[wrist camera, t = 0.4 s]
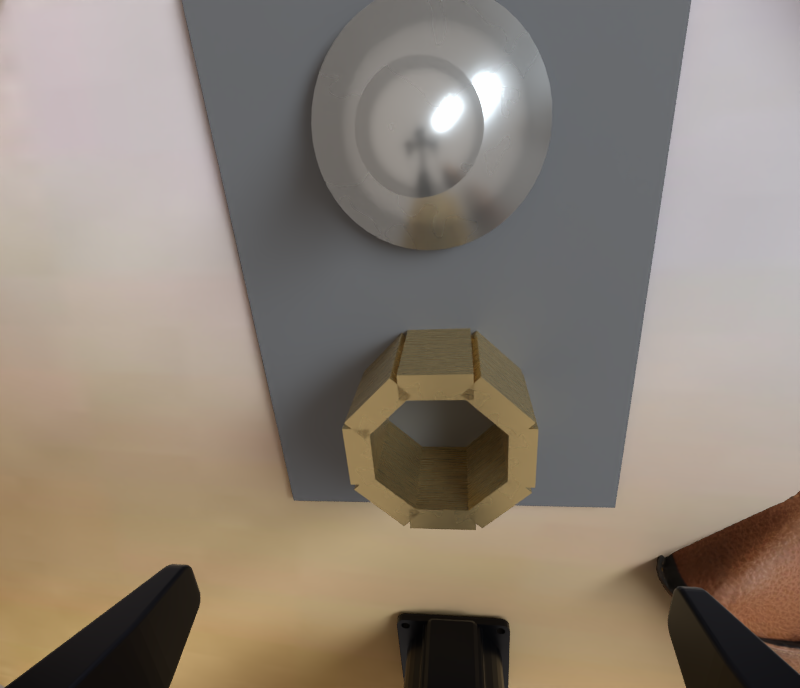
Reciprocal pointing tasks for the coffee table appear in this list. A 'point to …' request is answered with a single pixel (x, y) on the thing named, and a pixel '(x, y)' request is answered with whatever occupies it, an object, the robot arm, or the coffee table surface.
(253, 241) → the mat
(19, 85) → the coffee table surface
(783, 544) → the sunglasses case
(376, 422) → the bronze ring
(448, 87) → the silver rounded piece
